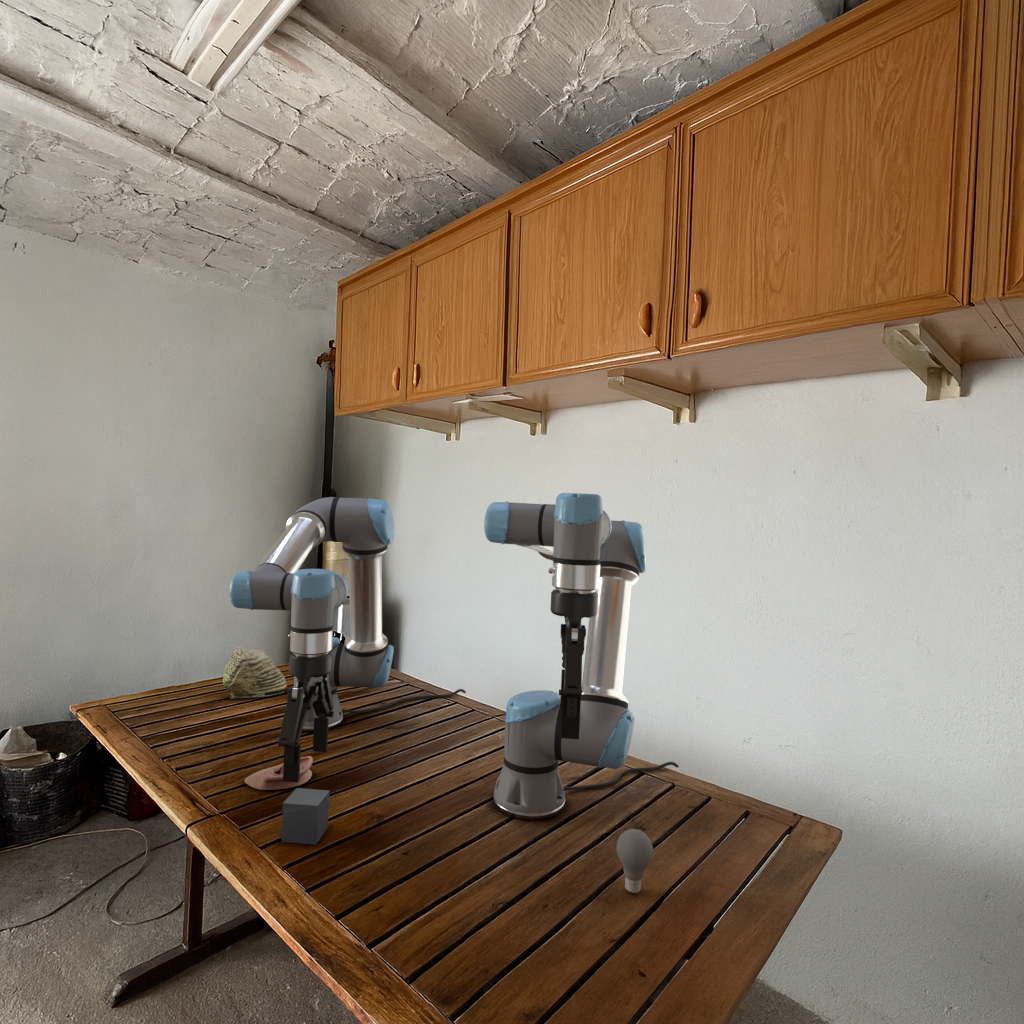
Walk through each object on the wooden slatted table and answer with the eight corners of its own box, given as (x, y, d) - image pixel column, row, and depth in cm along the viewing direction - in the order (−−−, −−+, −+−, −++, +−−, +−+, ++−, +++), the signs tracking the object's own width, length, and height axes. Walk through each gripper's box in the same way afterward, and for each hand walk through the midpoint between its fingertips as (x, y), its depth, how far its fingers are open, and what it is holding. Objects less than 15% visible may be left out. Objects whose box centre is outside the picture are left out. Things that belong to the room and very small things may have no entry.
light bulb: (610, 879, 108) (613, 822, 108) (644, 879, 109) (647, 822, 109) (619, 902, 102) (622, 840, 102) (655, 901, 103) (658, 840, 103)
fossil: (218, 695, 195) (220, 647, 195) (278, 685, 208) (279, 640, 207) (228, 703, 189) (230, 653, 188) (289, 692, 201) (290, 645, 201)
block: (295, 824, 122) (296, 787, 122) (328, 827, 122) (329, 790, 122) (281, 842, 116) (282, 803, 116) (315, 844, 115) (317, 805, 115)
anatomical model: (236, 768, 136) (267, 748, 147) (235, 786, 136) (266, 765, 148) (292, 776, 134) (319, 755, 145) (291, 794, 134) (319, 772, 145)
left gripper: (316, 637, 131) (312, 739, 131) (260, 668, 106) (255, 794, 106) (352, 639, 130) (348, 741, 131) (303, 671, 106) (298, 797, 106)
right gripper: (551, 579, 114) (546, 696, 114) (550, 600, 89) (543, 750, 89) (593, 581, 113) (588, 699, 113) (604, 603, 88) (597, 754, 89)
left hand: (306, 765), depth 119 cm, fingers open, 13 cm apart
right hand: (568, 722), depth 101 cm, fingers open, 13 cm apart
